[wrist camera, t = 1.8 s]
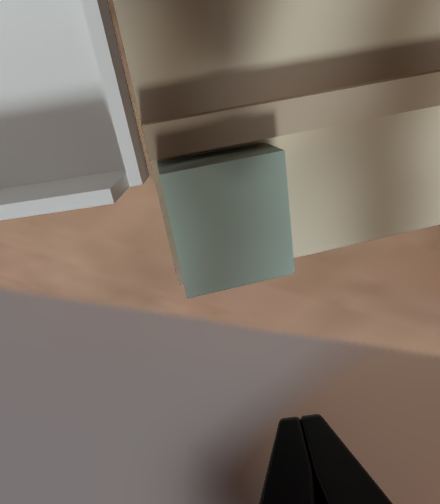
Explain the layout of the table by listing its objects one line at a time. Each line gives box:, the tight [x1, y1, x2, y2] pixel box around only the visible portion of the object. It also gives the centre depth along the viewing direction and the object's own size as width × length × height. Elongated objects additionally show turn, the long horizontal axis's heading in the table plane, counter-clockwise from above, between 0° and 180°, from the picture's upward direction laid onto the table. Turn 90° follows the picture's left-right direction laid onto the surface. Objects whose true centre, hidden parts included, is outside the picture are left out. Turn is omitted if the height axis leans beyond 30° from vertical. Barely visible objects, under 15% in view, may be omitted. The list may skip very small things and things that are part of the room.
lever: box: [113, 0, 440, 299], centre depth 12 cm, size 18×12×3 cm, turn 99°
